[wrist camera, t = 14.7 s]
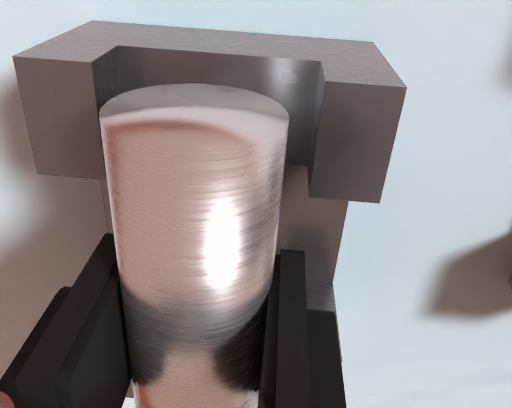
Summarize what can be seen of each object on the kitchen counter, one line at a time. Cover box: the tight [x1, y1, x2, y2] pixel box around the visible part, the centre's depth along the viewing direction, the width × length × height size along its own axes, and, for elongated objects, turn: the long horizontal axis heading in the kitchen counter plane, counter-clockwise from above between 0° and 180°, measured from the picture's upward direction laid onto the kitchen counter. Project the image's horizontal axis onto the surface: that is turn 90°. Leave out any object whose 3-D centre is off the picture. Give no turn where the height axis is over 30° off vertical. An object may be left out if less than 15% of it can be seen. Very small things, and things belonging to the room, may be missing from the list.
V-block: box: [12, 21, 407, 398], centre depth 13 cm, size 10×7×4 cm
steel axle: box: [99, 83, 289, 408], centre depth 10 cm, size 10×3×3 cm, turn 176°
